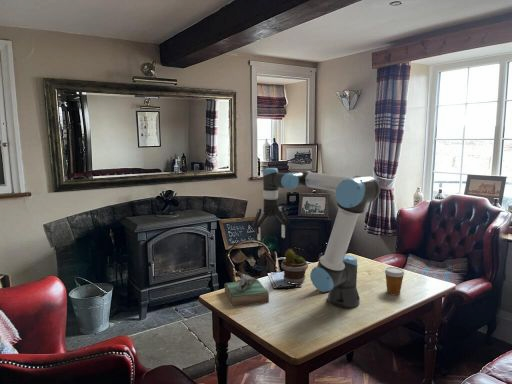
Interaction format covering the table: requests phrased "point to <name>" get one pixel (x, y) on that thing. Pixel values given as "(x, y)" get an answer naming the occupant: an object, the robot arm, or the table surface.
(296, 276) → the flowerpot
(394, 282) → the disposable coffee cup
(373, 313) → the table surface
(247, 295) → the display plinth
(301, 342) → the table surface
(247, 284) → the mineral specimen
